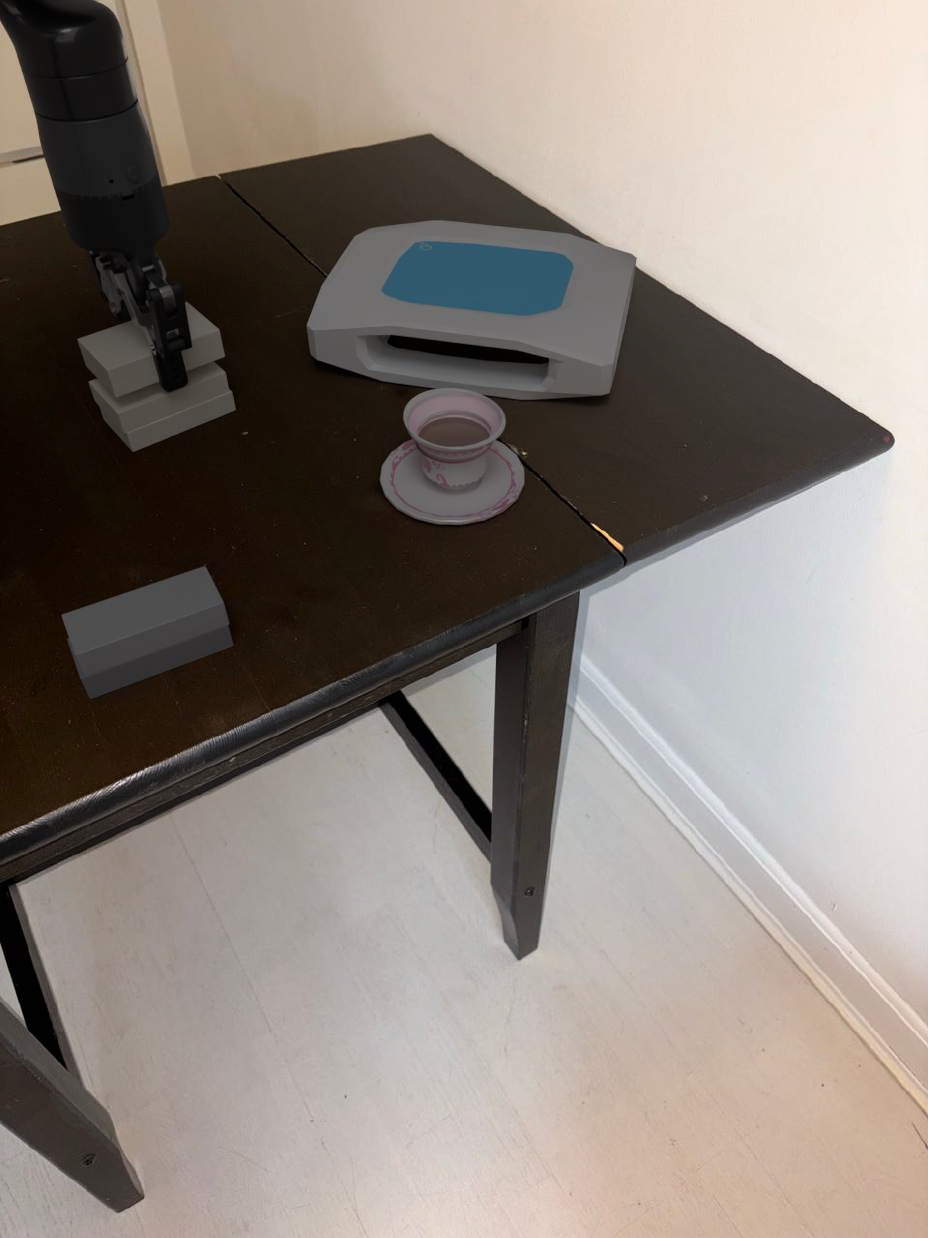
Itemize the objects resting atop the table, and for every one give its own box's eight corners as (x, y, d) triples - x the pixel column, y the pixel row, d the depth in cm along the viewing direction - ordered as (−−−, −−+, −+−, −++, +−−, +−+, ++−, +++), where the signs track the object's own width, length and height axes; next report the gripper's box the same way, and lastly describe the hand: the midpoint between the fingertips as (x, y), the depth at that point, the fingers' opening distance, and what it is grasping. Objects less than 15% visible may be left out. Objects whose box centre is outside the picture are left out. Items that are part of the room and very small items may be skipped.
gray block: (90, 699, 63) (70, 657, 60) (76, 659, 66) (56, 616, 62) (235, 645, 66) (223, 602, 63) (217, 609, 69) (205, 565, 66)
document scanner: (606, 412, 85) (614, 351, 81) (310, 373, 90) (301, 312, 85) (631, 297, 99) (639, 238, 95) (374, 267, 104) (369, 210, 99)
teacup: (554, 481, 79) (560, 419, 74) (448, 549, 73) (447, 486, 69) (456, 419, 85) (455, 358, 80) (350, 477, 79) (343, 415, 75)
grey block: (130, 453, 81) (118, 414, 78) (101, 420, 85) (88, 381, 82) (236, 410, 86) (228, 371, 83) (204, 380, 89) (195, 342, 86)
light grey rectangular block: (115, 398, 77) (107, 370, 75) (86, 366, 81) (76, 338, 79) (225, 356, 82) (219, 329, 80) (192, 327, 85) (186, 300, 83)
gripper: (17, 151, 72) (82, 349, 84) (96, 218, 64) (155, 425, 76) (111, 127, 75) (160, 321, 87) (196, 189, 67) (238, 392, 79)
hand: (158, 369), depth 82 cm, fingers closed on light grey rectangular block, 6 cm apart
